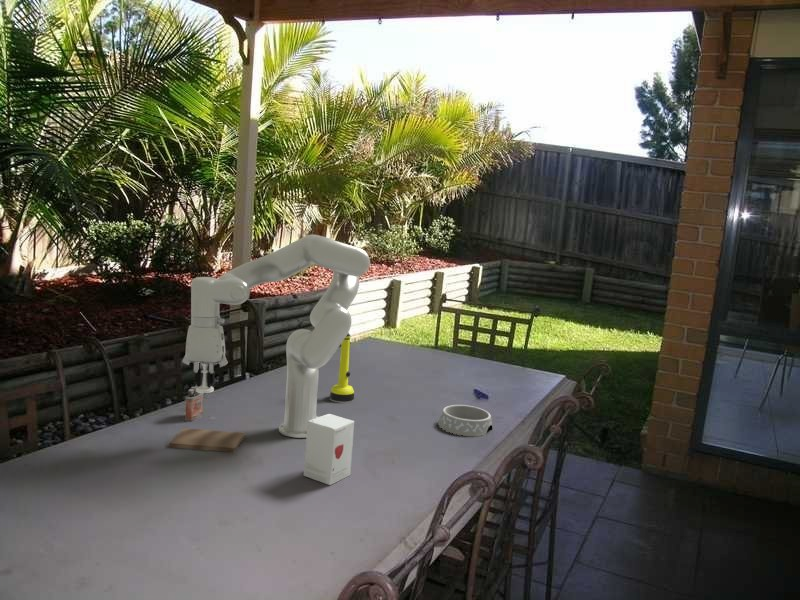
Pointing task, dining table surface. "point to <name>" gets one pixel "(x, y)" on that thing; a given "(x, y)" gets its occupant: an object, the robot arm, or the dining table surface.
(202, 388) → the chess piece
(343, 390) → the flashlight
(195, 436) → the walnut board
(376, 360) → the dining table surface
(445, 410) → the dog bowl
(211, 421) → the dining table surface
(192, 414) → the lighter
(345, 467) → the supplement box
